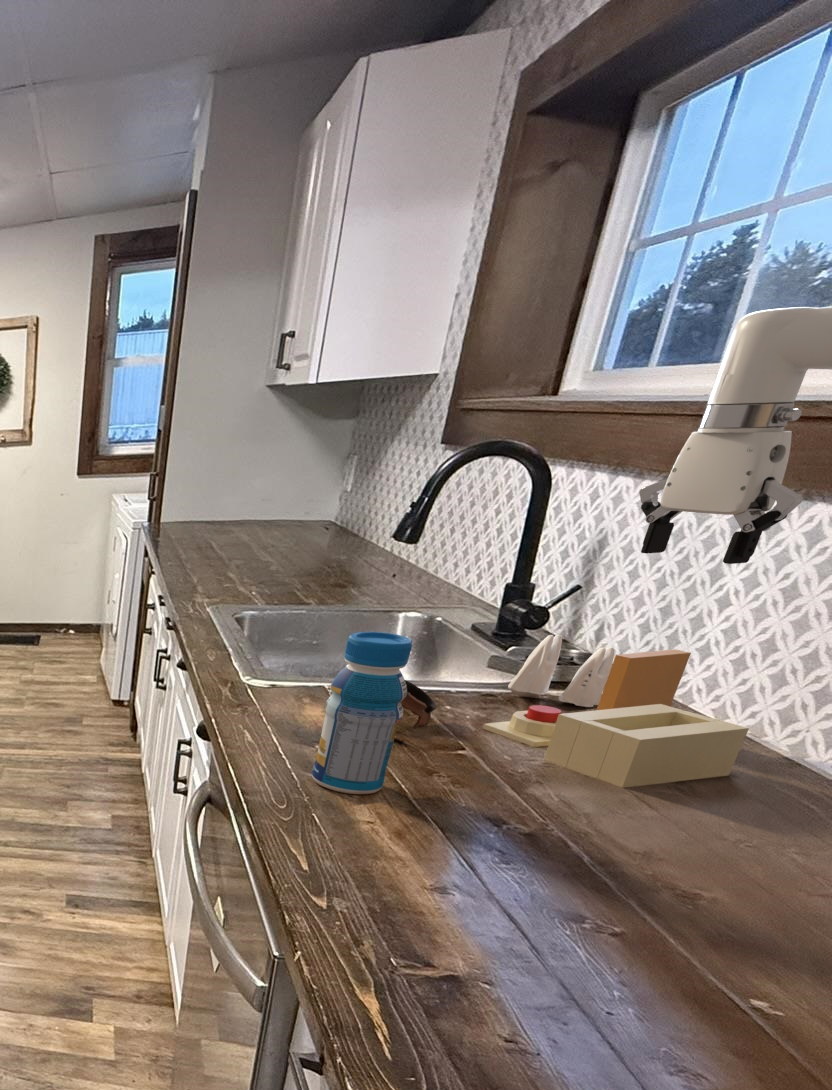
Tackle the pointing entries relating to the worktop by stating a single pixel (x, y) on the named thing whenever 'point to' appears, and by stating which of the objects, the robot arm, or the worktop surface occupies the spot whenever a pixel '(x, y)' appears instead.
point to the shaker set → (581, 688)
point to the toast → (643, 679)
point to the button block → (523, 729)
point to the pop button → (543, 713)
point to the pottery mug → (418, 704)
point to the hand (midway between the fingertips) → (691, 557)
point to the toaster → (644, 745)
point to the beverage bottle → (363, 714)
